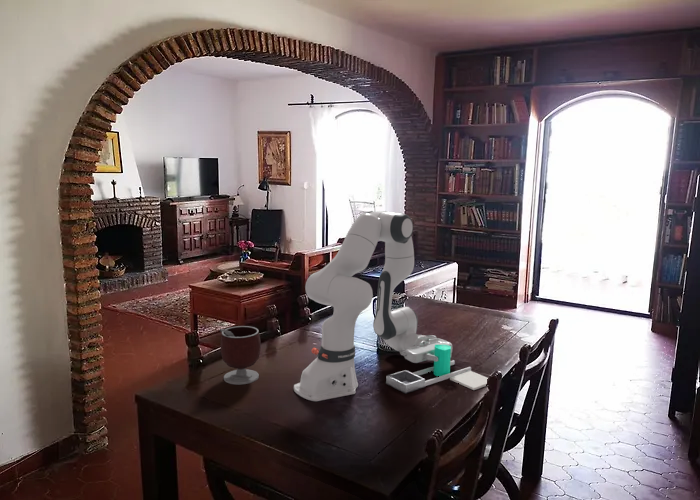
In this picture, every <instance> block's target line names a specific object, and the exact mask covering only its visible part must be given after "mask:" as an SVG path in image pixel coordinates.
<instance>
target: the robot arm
mask: <svg viewBox="0 0 700 500" xmlns="http://www.w3.org/2000/svg"><path fill="white" fill-rule="evenodd" d="M413 233H414V223H413V220H412V218H411V217H410V215H408V214H406V213H403V212H394V211H386V210H385V211H384V210H379V211H373V210H371V211H366V212H363V213H361V214H360V215H358V217H357V218H356V219H355V220H354V221H353V223H352V224H351V226H350V228H349V230H348V231H347V233H346V236H345V238H344V240H343V241H342V244H341V245H340V248H339V250H338V252H337V253H336V254H335V256H334V257H333V258H332V259H331V260H330V262H328V263H327V264H326V265H325V266H323V268H321V269H320V270H318V271H316V272H314V273H312V274H310V275H309V276H308V278H307V280H306V282H305V286H304V288H305V294H306V295H307V297H308V298H309V299H310V300H312V301H314V302H315V303H318V304H321V305H325V306H328V307H329V306H330V307H333V313H332V315H331V316H330V317H328V318H327V319H325V320H324V321H323V323H322V325H321V345H320V347H319V348H316V347H313V348H312V349H311V353H312V354H314V355H315V356H317V357H316V358H315V359H314V360H312V362H311V363H309V365H308V366H307V367H306V368H304V369H303V370H302V373H301V376H300V380H299V381H300V382H298V383H295V384H293V391H294V392H295V394H297V395H298V396H299V397H301V398H303V399H306V400H308V401H311V402H321V401H325V400H330V399H331V400H332V399H336V398H340V397H345V396H350V395H355V394H356V390H357V388H358V386H359V383H358V379H357V374H356V368H355V367H356V366H355V357H356V345H355V328H356V322H357V319H358V317H359V316H360V315H361V313H362V312H363V311H365V310H366V309H367V308H369V306H370V305H371V304H372V301H373V297H374V295H373V294H374V293H373V292H374V291H373V288H372V285H371V284H370V283H369V282H367V281H365V280H363V279H360V278H358V277H355V276H354V275H356V274H358V273H361V272H362V271H364V270H366V268H367V267H368V265H369V263H370V260H371V259H372V256H373V254H374V251H375V250H376V247H377V245H378V241H380V242H384V246H385V247H384V255H385V256H384V258H385V259H384V266H383V269H382V271H381V273H380V275H379V277H378V282H377V294H376V304H375V305H376V307H375V308H376V309H375V314H374V319H373V323H372V325H373V330H374V333H375V334H376V335H377V336H378V337H379V338H380V339H383V340H385V342H386V344H387V345H388V346H389V347H390V348H392V349H394V350H395V351H397V352H399V354H400V355H401V356H403V357H404V359H405V360H407V361H409V362H411V363H414V364H418V363H422V362H425V361H431V362H434V361H435V362H437V361H439V357H438V356H436V355H434V350H435V345H449V346H451V356H452V353H453V344H452V343H451V341H447V340H446V339H443V338H439V337H437V336H436V335H433V334H431V335H430V334H426V335H424V334H423V335H422V334H417V331H418V327H419V326H418V324H419V318H418V315H417V313H416V312H415V311H414V309H413V308H411V307H409V306H403V307H399V308H395V309H393V310H392V302H393V293H394V291H395V289H396V287H397V286H398V285H400V283H402V282H403V281H404V280H405V279H407V278H409V276H410V275H411V274H412V273H413V270H414V268H415V250H414V249H415V248H414V241H413V238H412V235H413Z"/></svg>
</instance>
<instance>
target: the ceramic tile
mask: <svg viewBox="0 0 700 500" xmlns="http://www.w3.org/2000/svg"><path fill="white" fill-rule="evenodd" d="M488 378H489V377H487V376H484V375H483V374H479V373H477V372H475V371H472V370H471V371H469V372H466V373H463V374H460V375H457V376H454V377H450V378H449V380H450V381H451V382H455V383H457V384H458V383H459V385H461V386H464V387H466V388H468V389H470V390H473V391H475V390H479V389H481V388H483V387H487V386H486V384H487V379H488Z"/></svg>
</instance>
